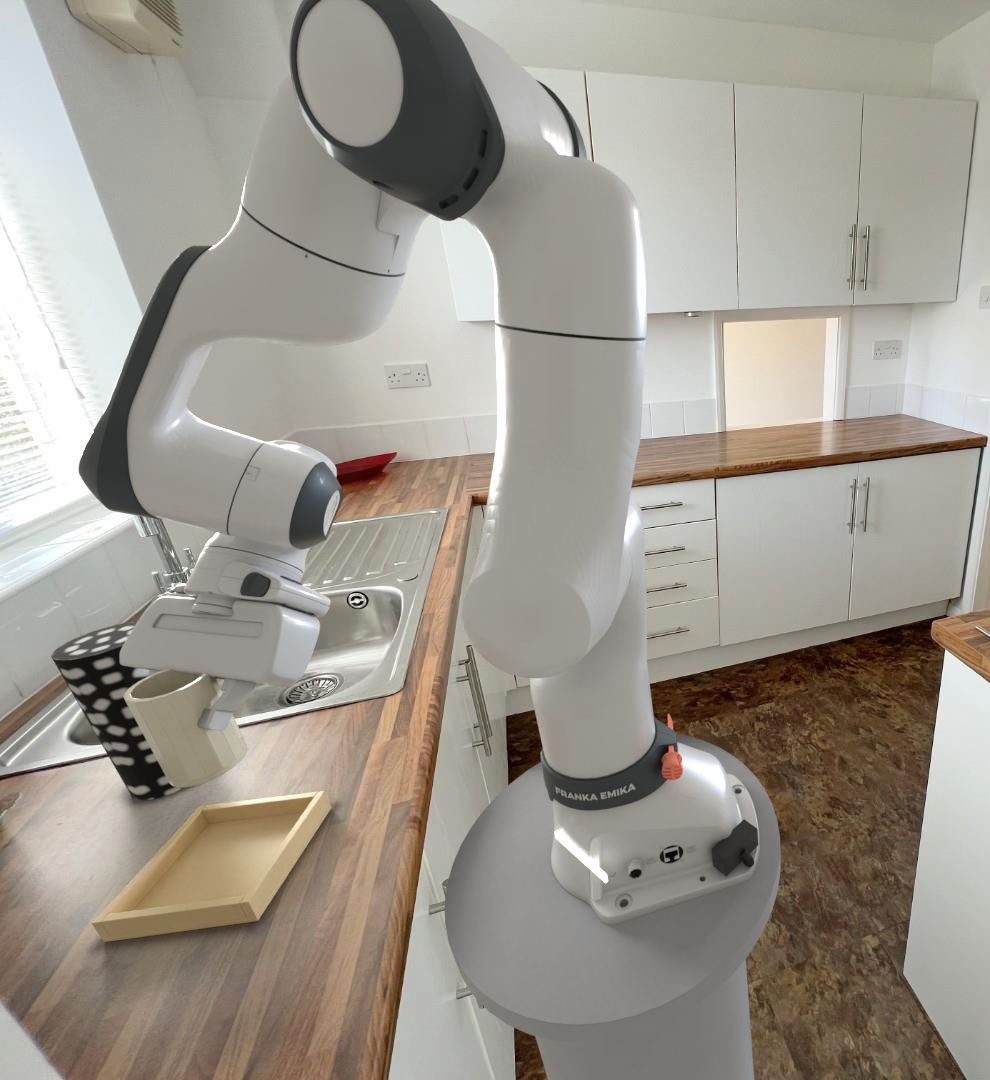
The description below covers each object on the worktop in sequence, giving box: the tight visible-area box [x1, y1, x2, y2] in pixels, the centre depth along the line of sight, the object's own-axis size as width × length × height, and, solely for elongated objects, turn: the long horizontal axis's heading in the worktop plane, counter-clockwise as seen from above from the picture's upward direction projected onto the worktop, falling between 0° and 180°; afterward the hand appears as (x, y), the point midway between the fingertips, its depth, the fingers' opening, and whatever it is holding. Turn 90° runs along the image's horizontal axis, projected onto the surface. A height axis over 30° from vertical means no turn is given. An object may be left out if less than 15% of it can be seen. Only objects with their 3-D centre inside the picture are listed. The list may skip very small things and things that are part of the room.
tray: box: [91, 790, 332, 943], centre depth 60 cm, size 14×14×3 cm
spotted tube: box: [50, 621, 186, 801], centre depth 71 cm, size 8×8×20 cm
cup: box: [123, 669, 249, 789], centre depth 57 cm, size 6×6×10 cm
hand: (181, 725), depth 56 cm, fingers closed on cup, 6 cm apart
